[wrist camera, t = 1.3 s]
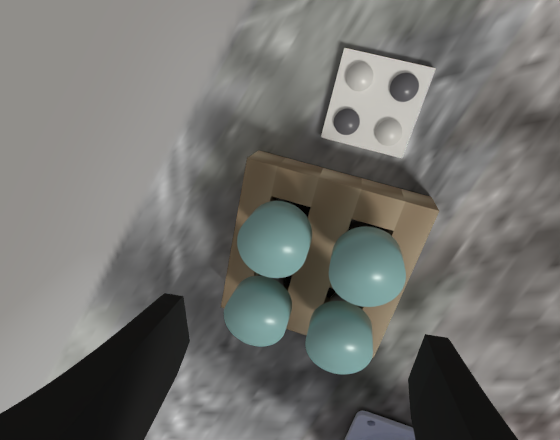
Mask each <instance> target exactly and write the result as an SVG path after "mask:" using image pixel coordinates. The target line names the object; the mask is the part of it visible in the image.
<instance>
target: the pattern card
mask: <svg viewBox="0 0 560 440" xmlns="http://www.w3.org/2000/svg"><path fill="white" fill-rule="evenodd" d="M435 69H436V68H432V67H427V66H423V65H418V64H414V63H410V62H405V61H401V60H396V59H392V58H388V57H383V56H379V55H374V54H370V53H365V52H361V51H357V50H352V49H348V48H344V51H343V55H342V58H341V62H340V66H339V70H338V74H337V78H336V81H335V85H334V89H333V93H332V97H331V100H330V104H329V108H328V112H327V116H326V120H325V123H324V127H323V131H322V135H321V137H322V138H325V139H329V140H333V141H337V142H341V143H345V144H348V145H352V146H356V147H360V148H364V149H368V150H372V151H375V152H379V153H383V154H387V155H391V156H395V157H398V158H403V155H404V153H405V150H406V147H407V145H408V142H409V139H410V137H411V134H412V131H413V128H414V126H415V123H416V120H417V118H418V115H419V112H420V110H421V107H422V104H423V102H424V99H425V96H426V93H427V91H428V88H429V85H430V83H431V80H432V77H433V75H434V72H435Z"/></svg>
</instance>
